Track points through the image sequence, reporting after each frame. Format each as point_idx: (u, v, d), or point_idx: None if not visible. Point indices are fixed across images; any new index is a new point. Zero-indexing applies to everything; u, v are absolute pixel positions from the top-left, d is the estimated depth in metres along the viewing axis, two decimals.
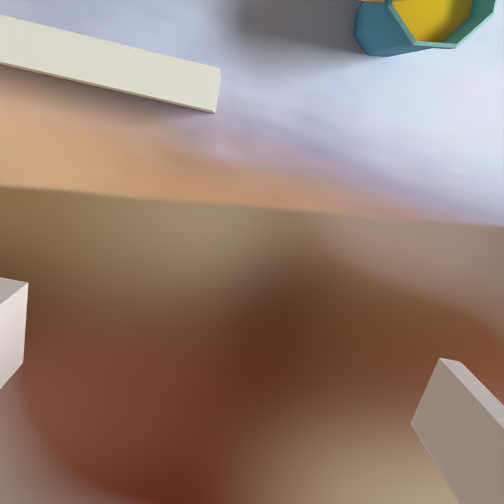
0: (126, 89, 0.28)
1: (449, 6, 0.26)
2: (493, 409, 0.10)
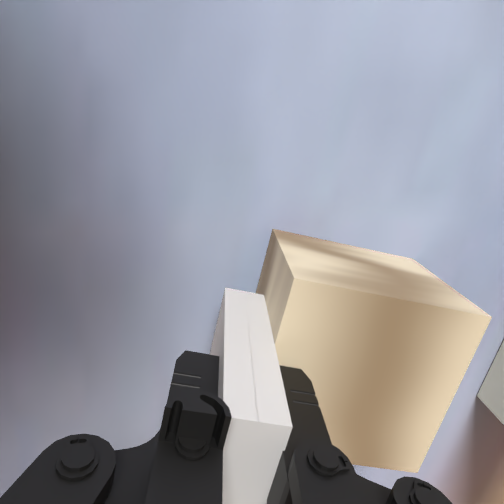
0: None
1: None
2: (255, 324, 0.12)
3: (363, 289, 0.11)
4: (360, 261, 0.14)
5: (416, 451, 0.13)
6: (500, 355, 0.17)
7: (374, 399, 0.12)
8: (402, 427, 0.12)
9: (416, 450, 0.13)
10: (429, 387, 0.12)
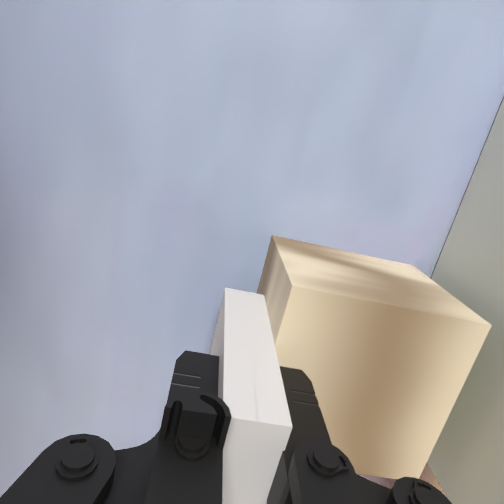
0: None
1: None
2: (256, 324, 0.12)
3: (362, 296, 0.11)
4: (359, 268, 0.13)
5: (416, 460, 0.13)
6: None
7: (373, 408, 0.12)
8: (402, 436, 0.12)
9: (416, 459, 0.12)
10: (428, 395, 0.12)
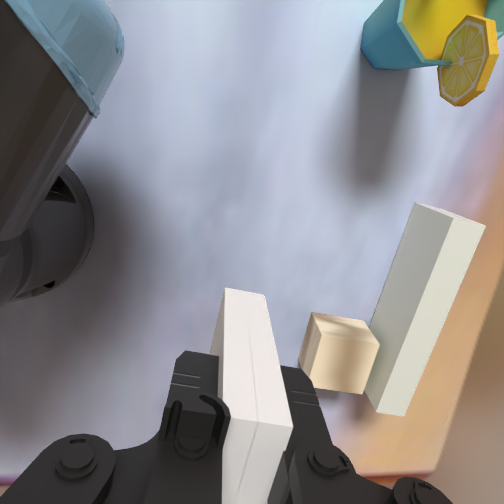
0: (455, 294, 0.34)
1: None
2: (256, 324, 0.12)
3: (341, 337, 0.38)
4: (342, 324, 0.40)
5: (361, 387, 0.39)
6: None
7: (346, 369, 0.39)
8: (356, 378, 0.39)
9: (361, 386, 0.39)
10: (363, 365, 0.39)
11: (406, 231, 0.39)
